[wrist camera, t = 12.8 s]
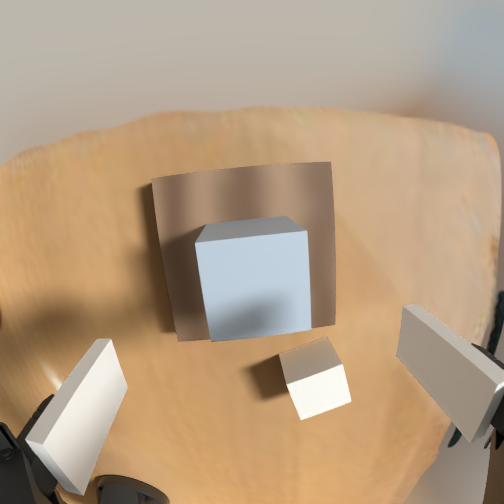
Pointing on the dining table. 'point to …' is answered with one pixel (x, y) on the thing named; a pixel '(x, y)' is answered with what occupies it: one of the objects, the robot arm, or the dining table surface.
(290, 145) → the dining table surface
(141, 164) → the dining table surface
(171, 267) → the walnut block
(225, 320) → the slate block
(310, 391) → the white cube
